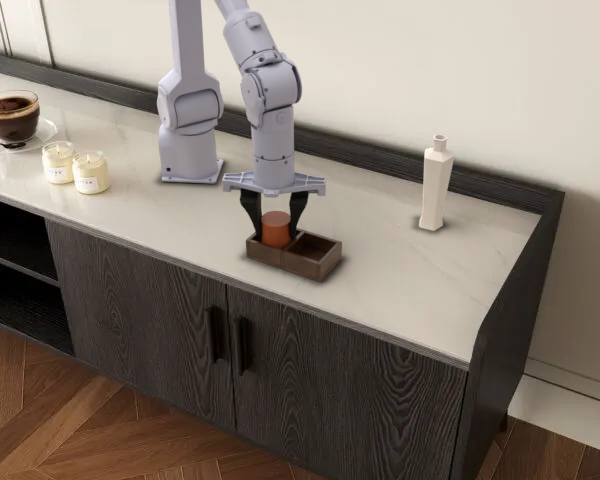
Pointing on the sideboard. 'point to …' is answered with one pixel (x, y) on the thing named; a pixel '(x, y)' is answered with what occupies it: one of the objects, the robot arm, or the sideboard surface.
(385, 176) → the sideboard surface
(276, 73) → the robot arm
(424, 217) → the white vase
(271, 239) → the orange cylinder
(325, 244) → the divided tray
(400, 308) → the sideboard surface
